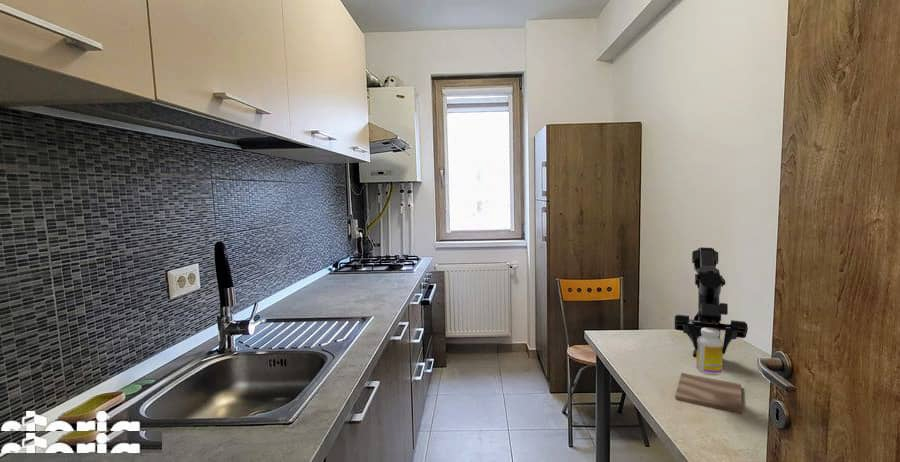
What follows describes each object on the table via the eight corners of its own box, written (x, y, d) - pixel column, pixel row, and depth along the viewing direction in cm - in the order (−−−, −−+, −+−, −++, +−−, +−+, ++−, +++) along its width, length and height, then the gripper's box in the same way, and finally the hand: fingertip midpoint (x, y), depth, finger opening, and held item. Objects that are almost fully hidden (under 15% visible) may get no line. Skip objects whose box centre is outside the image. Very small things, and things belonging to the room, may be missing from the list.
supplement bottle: (727, 374, 122) (729, 332, 121) (709, 377, 120) (711, 335, 119) (707, 365, 128) (709, 325, 127) (690, 368, 127) (692, 327, 125)
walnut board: (681, 375, 137) (681, 372, 137) (740, 387, 128) (740, 384, 128) (675, 398, 122) (675, 395, 122) (741, 413, 113) (741, 410, 113)
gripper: (675, 289, 130) (673, 334, 122) (748, 295, 121) (751, 344, 112) (675, 307, 138) (673, 351, 129) (743, 314, 128) (747, 361, 120)
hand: (709, 351), depth 123 cm, fingers closed on supplement bottle, 7 cm apart
